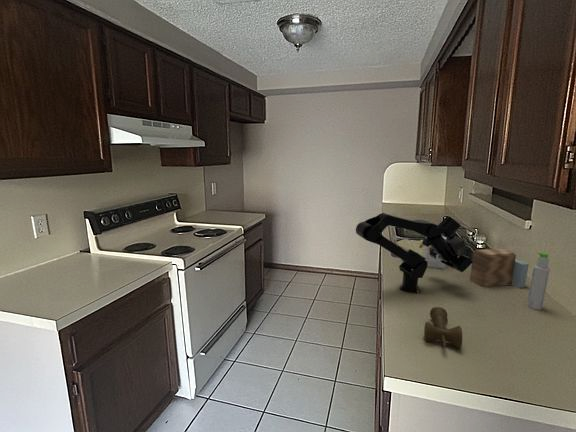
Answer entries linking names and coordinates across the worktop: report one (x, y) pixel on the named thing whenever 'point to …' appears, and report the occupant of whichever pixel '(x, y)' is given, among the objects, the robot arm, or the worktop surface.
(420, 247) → the cheese
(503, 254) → the walnut box
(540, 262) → the bottle
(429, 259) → the supplement box
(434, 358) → the worktop surface
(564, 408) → the worktop surface
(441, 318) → the kendama
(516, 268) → the board
